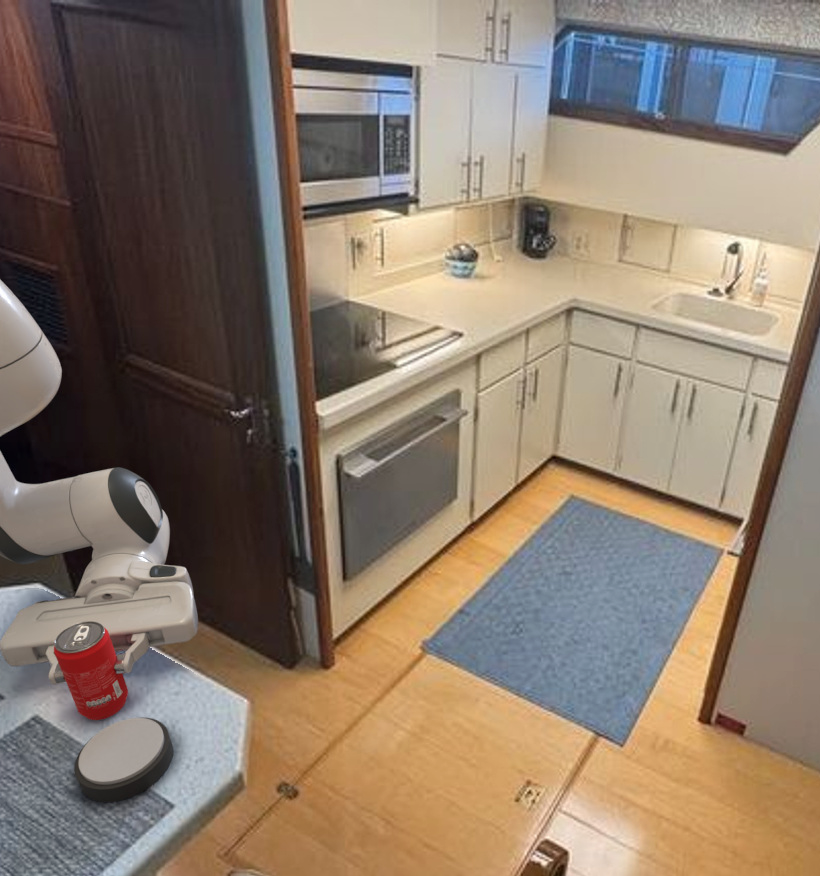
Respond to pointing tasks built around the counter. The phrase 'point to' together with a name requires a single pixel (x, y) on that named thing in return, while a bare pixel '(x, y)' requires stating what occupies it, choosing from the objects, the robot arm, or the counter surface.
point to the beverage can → (91, 670)
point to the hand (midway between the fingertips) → (90, 674)
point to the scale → (123, 759)
